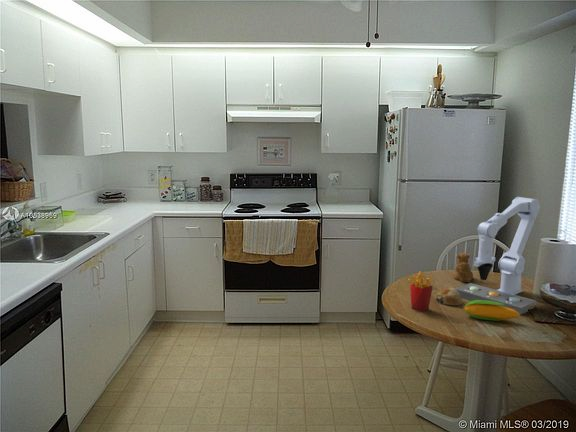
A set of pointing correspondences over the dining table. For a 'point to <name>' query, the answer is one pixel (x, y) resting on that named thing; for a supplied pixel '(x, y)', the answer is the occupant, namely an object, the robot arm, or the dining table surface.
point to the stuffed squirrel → (463, 268)
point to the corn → (489, 310)
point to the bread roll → (448, 297)
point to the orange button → (494, 294)
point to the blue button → (514, 299)
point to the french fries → (420, 292)
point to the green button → (474, 288)
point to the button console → (502, 298)
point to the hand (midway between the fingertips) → (483, 279)
